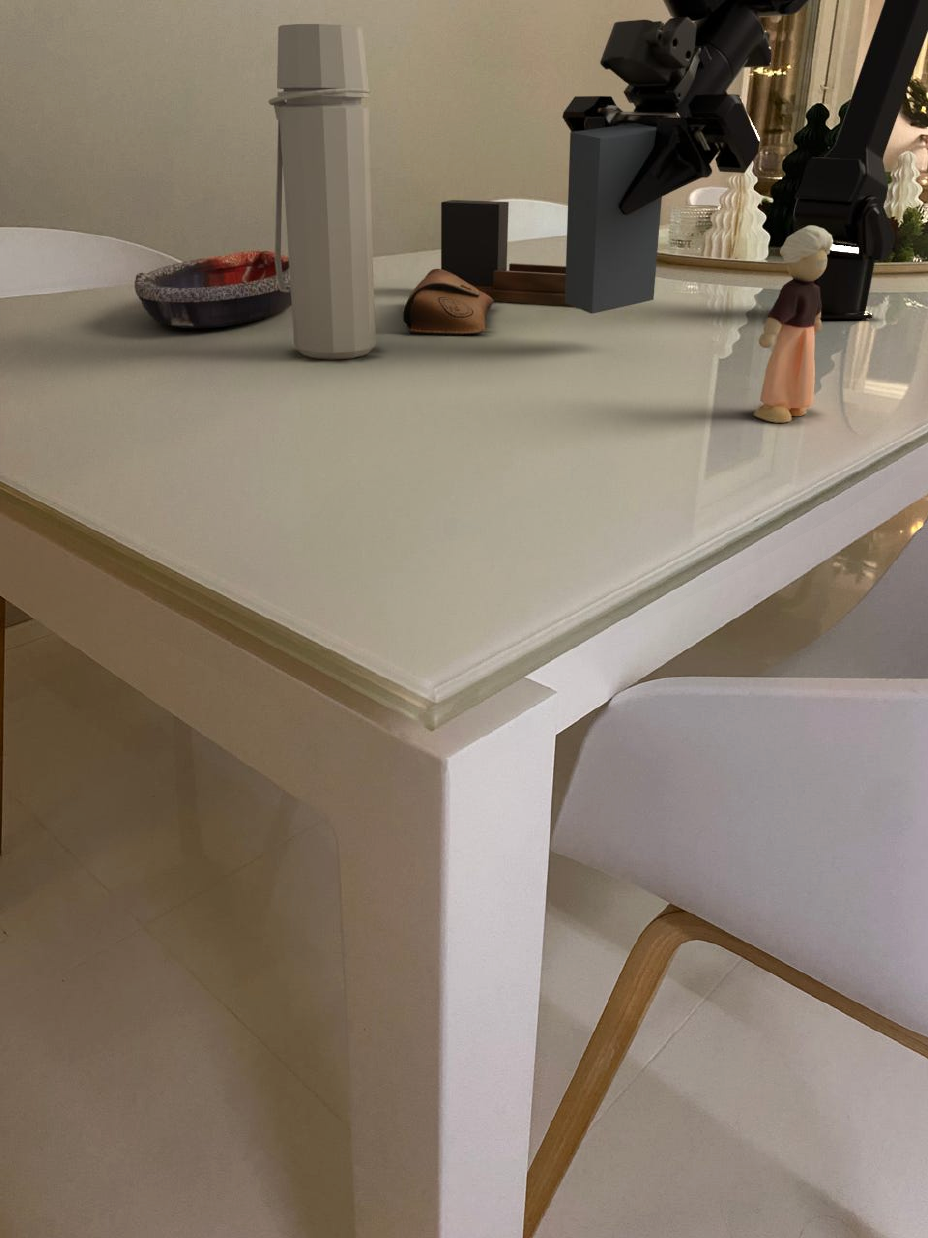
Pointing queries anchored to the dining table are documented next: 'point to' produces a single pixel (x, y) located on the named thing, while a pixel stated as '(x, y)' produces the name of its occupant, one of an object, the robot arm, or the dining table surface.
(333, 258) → the water bottle
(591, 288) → the back pad
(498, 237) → the pad cradle
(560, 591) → the dining table surface
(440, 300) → the sunglasses case
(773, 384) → the grandmother figurine
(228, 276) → the dish
